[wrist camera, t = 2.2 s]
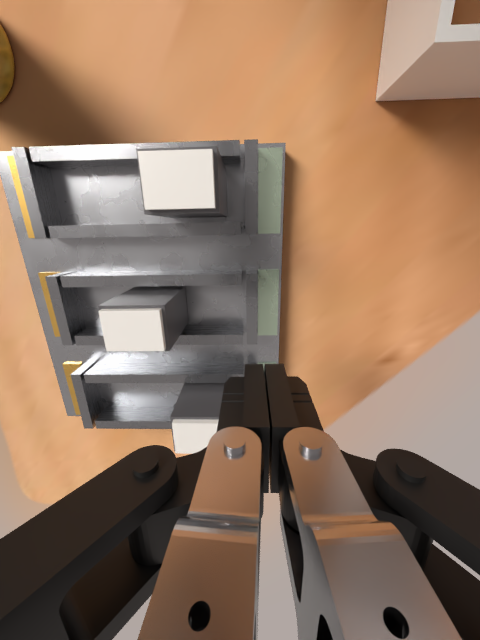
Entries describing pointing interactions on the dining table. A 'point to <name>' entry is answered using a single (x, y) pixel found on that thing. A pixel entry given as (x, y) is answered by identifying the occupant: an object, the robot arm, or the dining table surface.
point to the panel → (147, 271)
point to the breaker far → (196, 416)
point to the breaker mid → (144, 318)
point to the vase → (5, 65)
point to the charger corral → (427, 53)
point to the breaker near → (183, 182)
